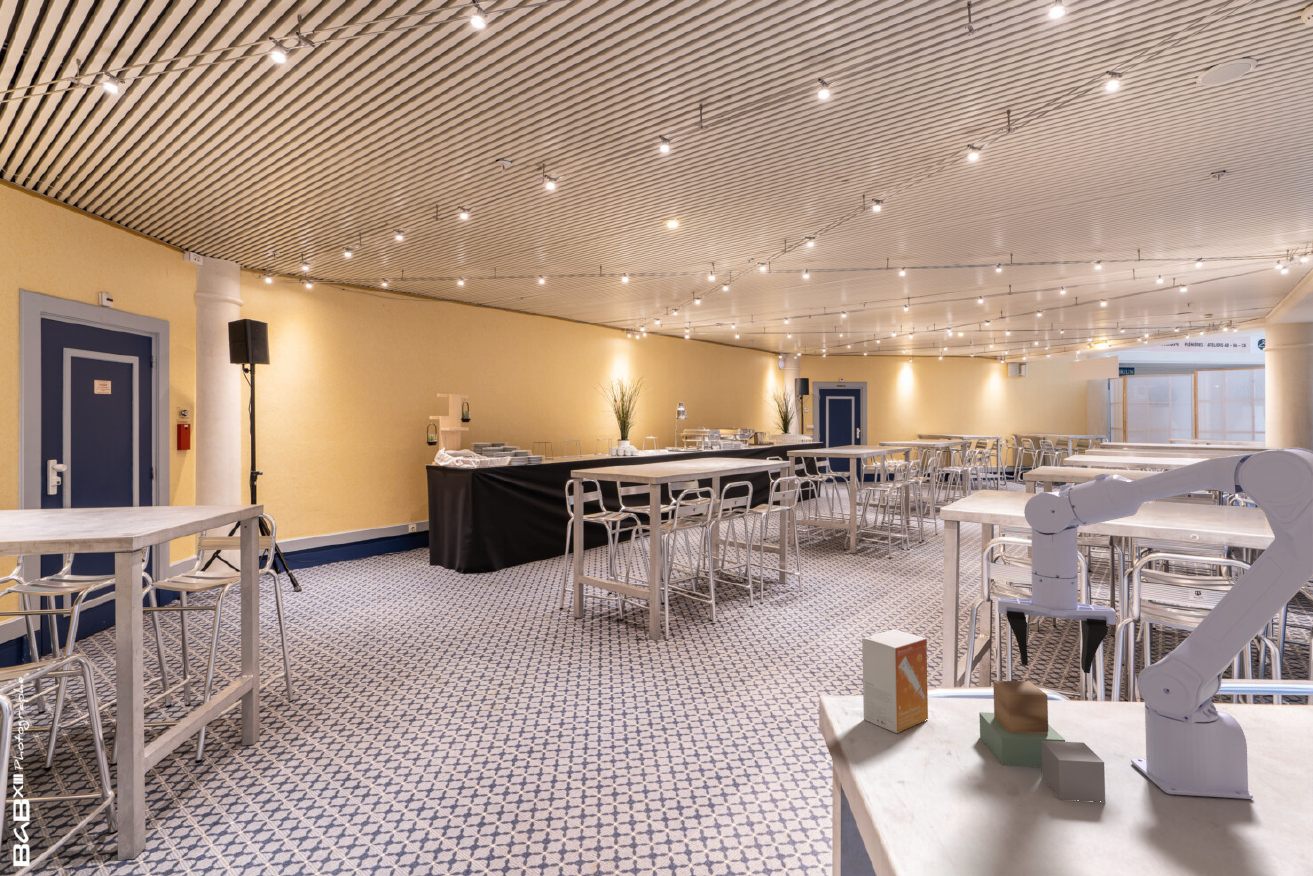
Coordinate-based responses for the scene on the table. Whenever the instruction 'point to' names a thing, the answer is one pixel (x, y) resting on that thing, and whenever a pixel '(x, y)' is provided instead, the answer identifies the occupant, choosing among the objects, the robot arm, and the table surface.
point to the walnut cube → (1020, 706)
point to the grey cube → (1073, 771)
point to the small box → (895, 680)
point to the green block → (1014, 742)
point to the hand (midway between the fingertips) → (1054, 666)
